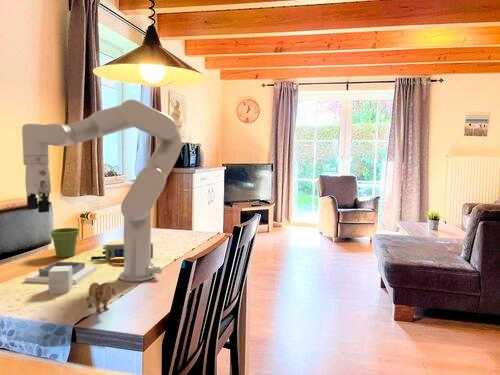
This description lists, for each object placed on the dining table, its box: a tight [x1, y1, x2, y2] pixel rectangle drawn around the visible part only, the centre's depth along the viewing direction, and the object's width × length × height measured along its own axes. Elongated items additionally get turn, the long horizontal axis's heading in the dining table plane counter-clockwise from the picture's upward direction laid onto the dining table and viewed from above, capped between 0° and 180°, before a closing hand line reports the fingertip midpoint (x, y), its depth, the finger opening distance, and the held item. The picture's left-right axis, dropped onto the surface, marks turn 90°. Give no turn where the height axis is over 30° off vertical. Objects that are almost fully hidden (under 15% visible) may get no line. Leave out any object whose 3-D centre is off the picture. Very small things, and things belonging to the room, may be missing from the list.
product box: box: [48, 266, 74, 294], centre depth 126 cm, size 6×6×7 cm
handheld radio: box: [90, 242, 154, 262], centre depth 163 cm, size 7×3×25 cm
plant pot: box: [49, 227, 81, 259], centre depth 166 cm, size 12×12×11 cm
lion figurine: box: [86, 281, 119, 315], centre depth 112 cm, size 15×5×9 cm, turn 50°
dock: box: [24, 261, 98, 285], centre depth 140 cm, size 18×16×4 cm
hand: (38, 210), depth 132 cm, fingers open, 9 cm apart
